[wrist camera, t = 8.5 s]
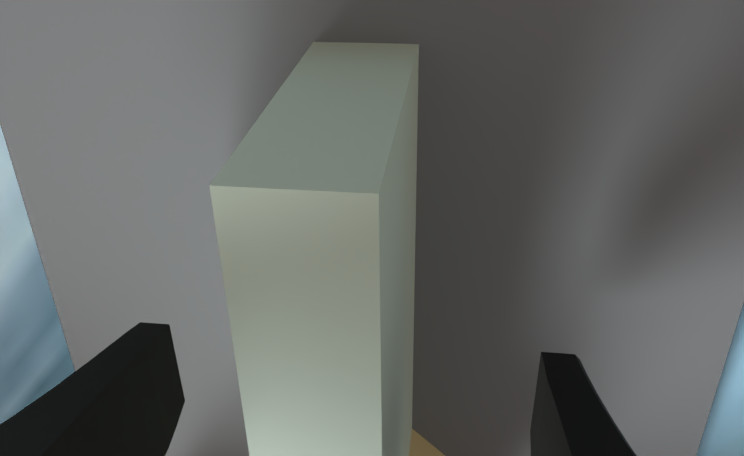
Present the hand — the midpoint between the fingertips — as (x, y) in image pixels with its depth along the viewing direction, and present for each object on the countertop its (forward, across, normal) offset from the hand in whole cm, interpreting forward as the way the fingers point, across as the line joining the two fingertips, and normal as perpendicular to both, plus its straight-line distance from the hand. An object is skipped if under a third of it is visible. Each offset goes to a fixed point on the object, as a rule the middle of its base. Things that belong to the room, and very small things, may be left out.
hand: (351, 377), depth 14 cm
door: (+3, 0, +1) cm, 3 cm away
